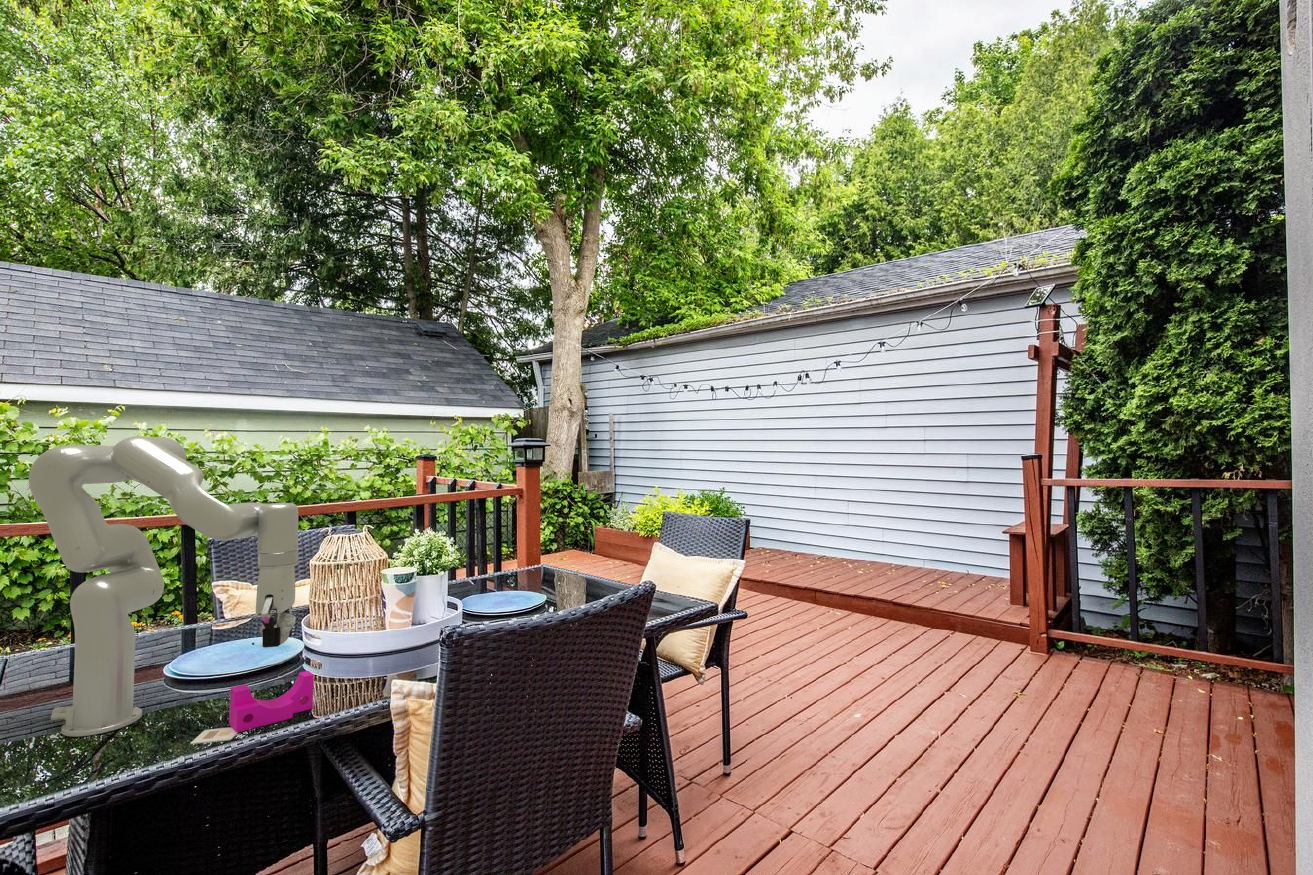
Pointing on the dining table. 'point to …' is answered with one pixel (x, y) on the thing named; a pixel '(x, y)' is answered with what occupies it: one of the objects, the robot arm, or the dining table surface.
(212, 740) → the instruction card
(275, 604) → the robot arm
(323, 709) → the dining table surface
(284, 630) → the frog figurine
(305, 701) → the toy block
